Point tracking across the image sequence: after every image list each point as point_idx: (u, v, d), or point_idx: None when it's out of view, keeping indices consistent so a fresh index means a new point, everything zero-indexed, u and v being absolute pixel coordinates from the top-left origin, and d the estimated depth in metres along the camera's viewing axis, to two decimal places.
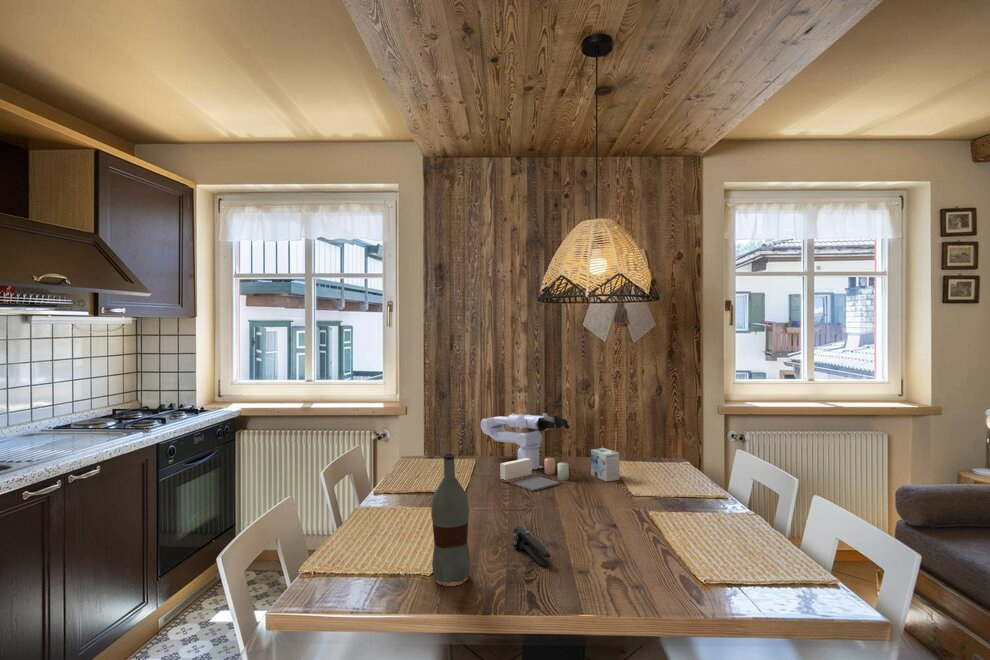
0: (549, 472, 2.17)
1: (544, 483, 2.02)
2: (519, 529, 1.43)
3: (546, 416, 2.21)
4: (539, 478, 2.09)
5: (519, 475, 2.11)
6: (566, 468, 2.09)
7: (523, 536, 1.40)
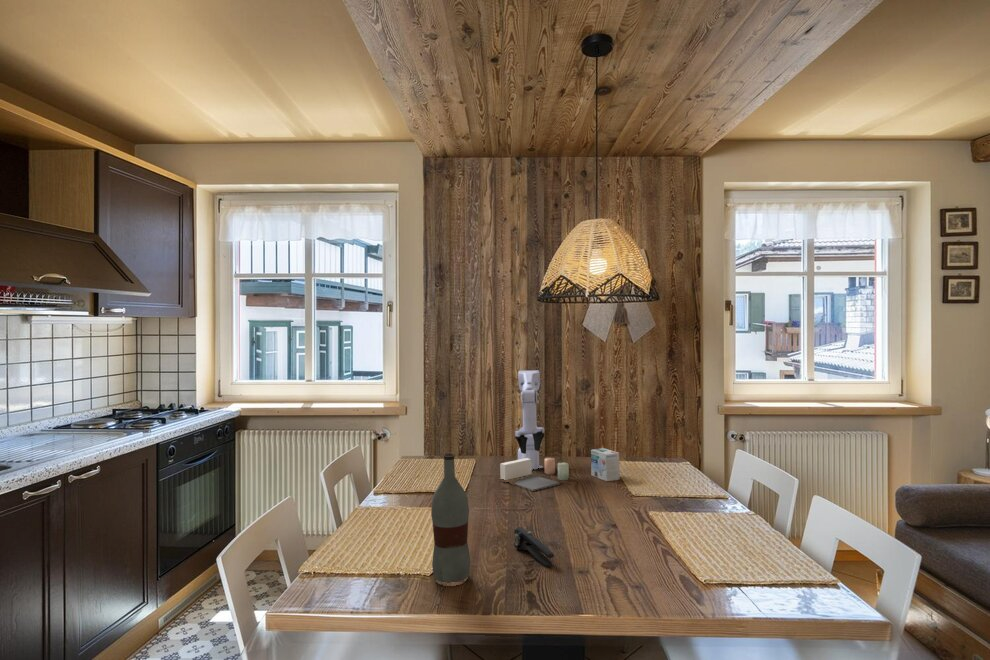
0: (549, 472, 2.17)
1: (544, 483, 2.02)
2: (520, 530, 1.43)
3: (534, 432, 2.13)
4: (539, 478, 2.09)
5: (519, 475, 2.11)
6: (566, 468, 2.09)
7: (525, 537, 1.40)
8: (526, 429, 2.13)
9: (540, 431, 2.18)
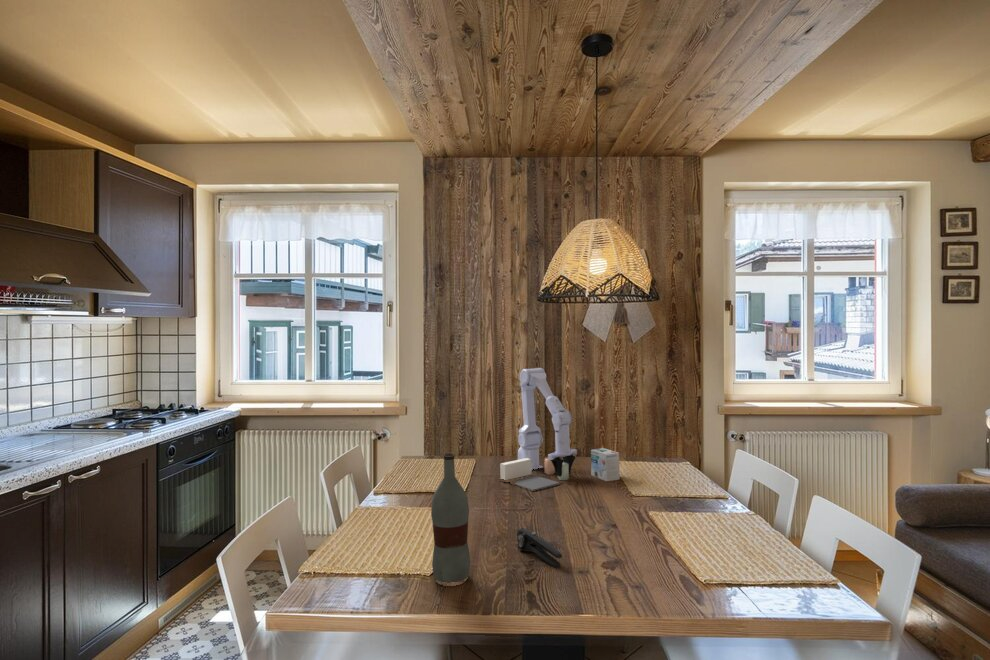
0: (549, 472, 2.17)
1: (544, 483, 2.02)
2: (524, 531, 1.42)
3: (568, 454, 2.08)
4: (539, 478, 2.09)
5: (519, 475, 2.11)
6: (566, 468, 2.09)
7: (529, 538, 1.39)
8: (559, 452, 2.08)
9: (573, 453, 2.14)
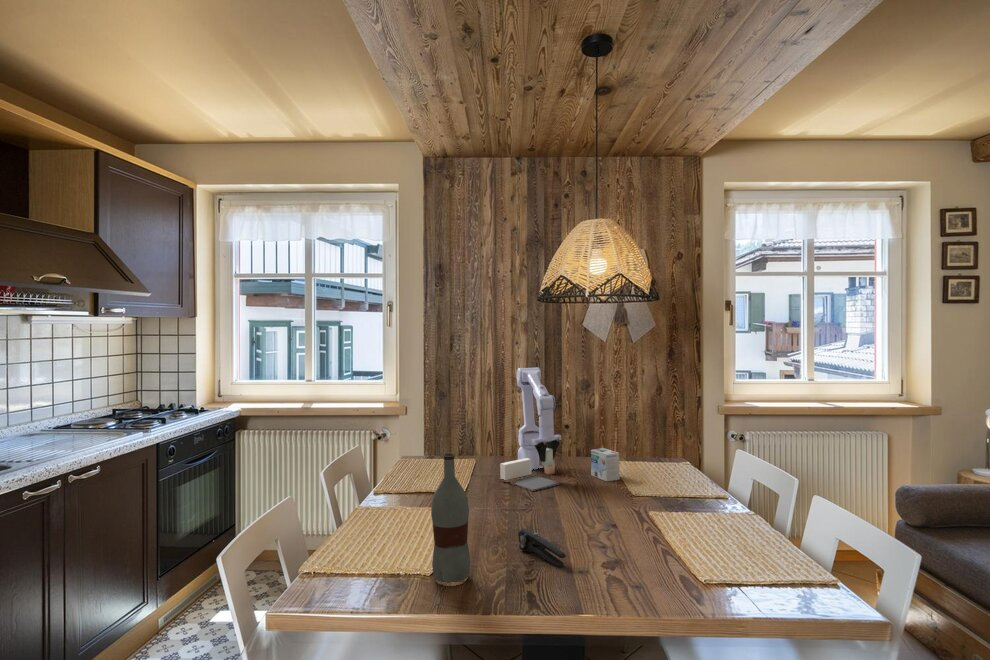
0: (550, 472, 2.17)
1: (544, 483, 2.02)
2: (525, 531, 1.42)
3: None
4: (539, 478, 2.09)
5: (519, 475, 2.11)
6: (551, 454, 2.05)
7: (532, 538, 1.39)
8: (543, 437, 2.04)
9: (557, 439, 2.10)
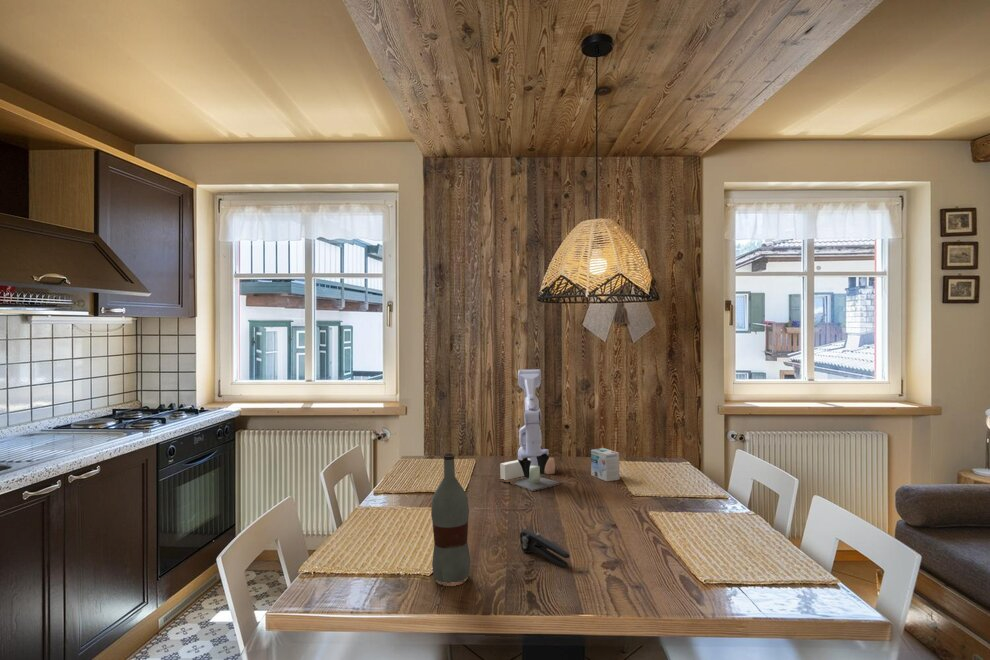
0: (550, 472, 2.17)
1: (544, 483, 2.02)
2: (527, 532, 1.41)
3: None
4: None
5: (519, 475, 2.11)
6: (537, 471, 2.02)
7: (534, 539, 1.38)
8: (529, 452, 2.01)
9: (544, 453, 2.07)
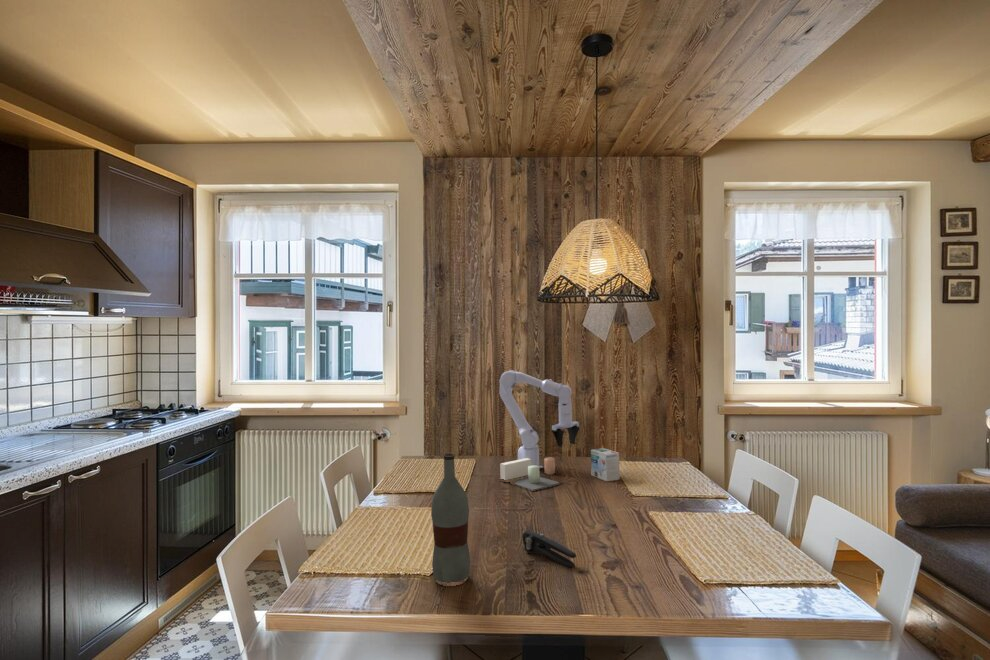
0: (552, 472, 2.17)
1: (544, 483, 2.02)
2: (530, 533, 1.40)
3: (570, 426, 2.24)
4: None
5: (519, 475, 2.11)
6: (537, 471, 2.02)
7: (538, 539, 1.38)
8: (562, 423, 2.23)
9: (575, 425, 2.29)
